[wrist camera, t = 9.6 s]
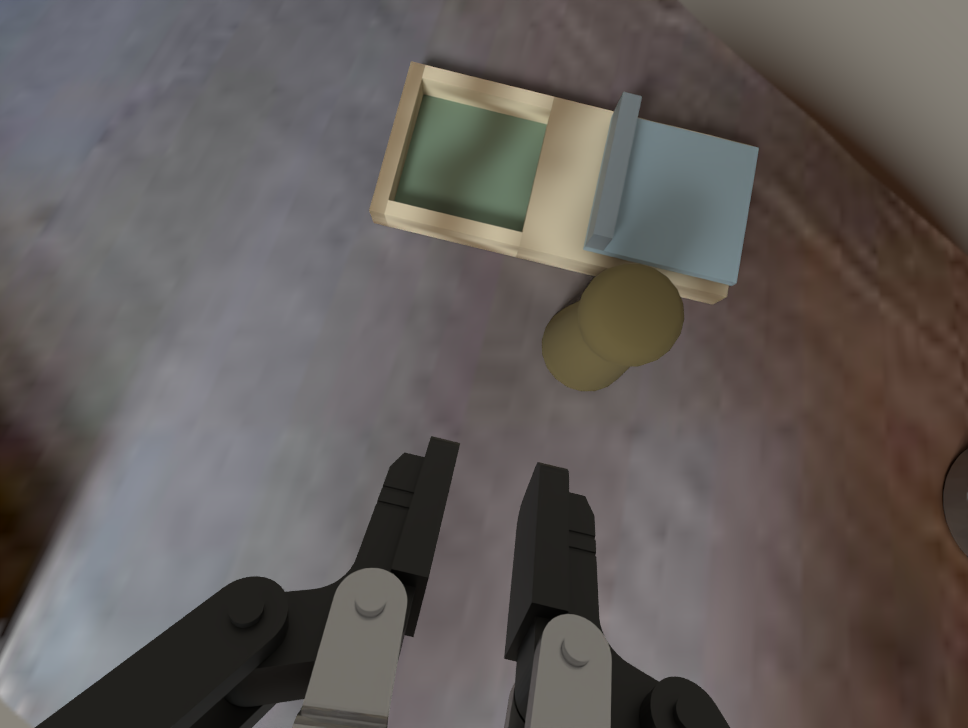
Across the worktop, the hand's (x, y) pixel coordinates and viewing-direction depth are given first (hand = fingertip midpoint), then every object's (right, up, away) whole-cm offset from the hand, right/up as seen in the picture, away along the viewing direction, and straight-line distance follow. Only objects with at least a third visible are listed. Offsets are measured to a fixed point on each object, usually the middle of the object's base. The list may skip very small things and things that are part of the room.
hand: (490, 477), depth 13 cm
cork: (+7, +4, +23) cm, 25 cm away
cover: (+12, +14, +22) cm, 29 cm away
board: (+5, +15, +25) cm, 29 cm away
